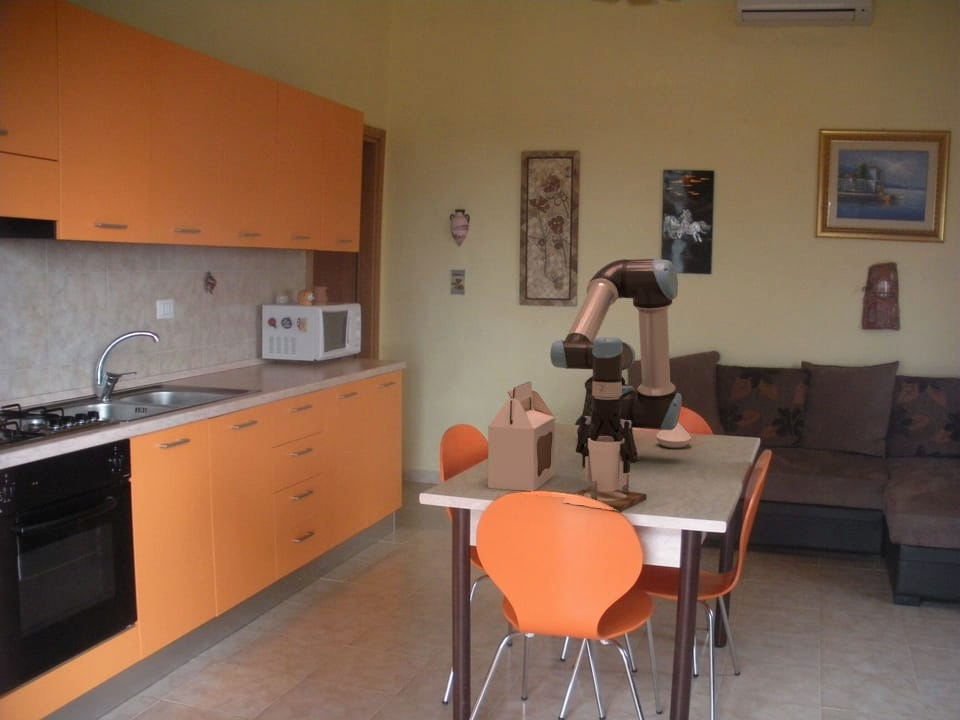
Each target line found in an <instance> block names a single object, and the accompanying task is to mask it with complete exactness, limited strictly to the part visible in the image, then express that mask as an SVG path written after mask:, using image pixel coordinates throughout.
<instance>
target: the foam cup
mask: <svg viewBox="0 0 960 720" xmlns="http://www.w3.org/2000/svg"><path fill="white" fill-rule="evenodd" d="M622 443H624V439H623V441H620V442H615V441H614V439H613V437H612V436H599V437H598V439H597V441H592V440H591V438H588V449H589V456H590V465H591V473H592V480H591V481H597V490H598V491H615V490H618V489H619V488H618V486H619V475H620V461H621V460H622V457H621V455H620V452H619V451H620V444H622Z"/></svg>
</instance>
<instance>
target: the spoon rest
mask: <svg viewBox="0 0 960 720" xmlns="http://www.w3.org/2000/svg"><path fill="white" fill-rule="evenodd" d="M655 438H656V441H657V442H658V443H659V444H660V445H661V446H662V447H664V448H666V449H667V448H668V449H681V448H684V447H686V446H687V445H688V444H689V443H690V442H691V439H692V437H691V434H689V432H688V431H687V430H685V428H684V427H683V426H682V424H680V422H679V421H678V423H677V425H676V427H675V428H674V429H673V430H659V431H658V432H657V434H656V435H655Z"/></svg>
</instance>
